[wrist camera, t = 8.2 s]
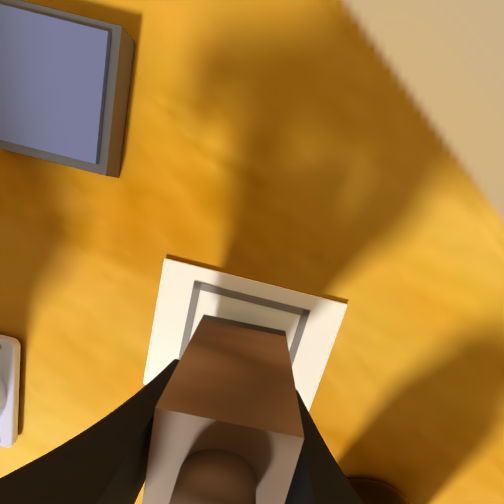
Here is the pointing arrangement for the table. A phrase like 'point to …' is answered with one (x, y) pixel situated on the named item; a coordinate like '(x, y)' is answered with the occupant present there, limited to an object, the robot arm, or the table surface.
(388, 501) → the supplement bottle
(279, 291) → the form sheet
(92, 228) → the table surface
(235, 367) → the stamp
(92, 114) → the ink pad
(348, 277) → the table surface
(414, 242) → the table surface
